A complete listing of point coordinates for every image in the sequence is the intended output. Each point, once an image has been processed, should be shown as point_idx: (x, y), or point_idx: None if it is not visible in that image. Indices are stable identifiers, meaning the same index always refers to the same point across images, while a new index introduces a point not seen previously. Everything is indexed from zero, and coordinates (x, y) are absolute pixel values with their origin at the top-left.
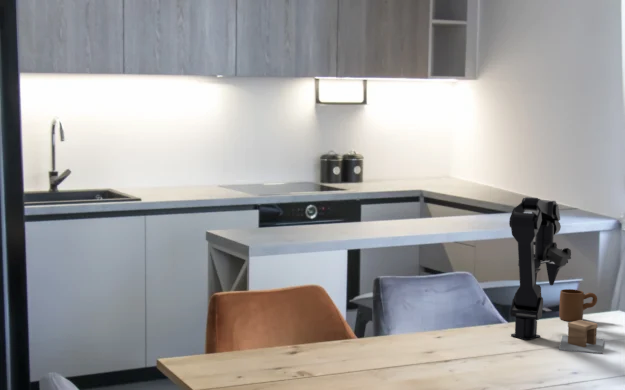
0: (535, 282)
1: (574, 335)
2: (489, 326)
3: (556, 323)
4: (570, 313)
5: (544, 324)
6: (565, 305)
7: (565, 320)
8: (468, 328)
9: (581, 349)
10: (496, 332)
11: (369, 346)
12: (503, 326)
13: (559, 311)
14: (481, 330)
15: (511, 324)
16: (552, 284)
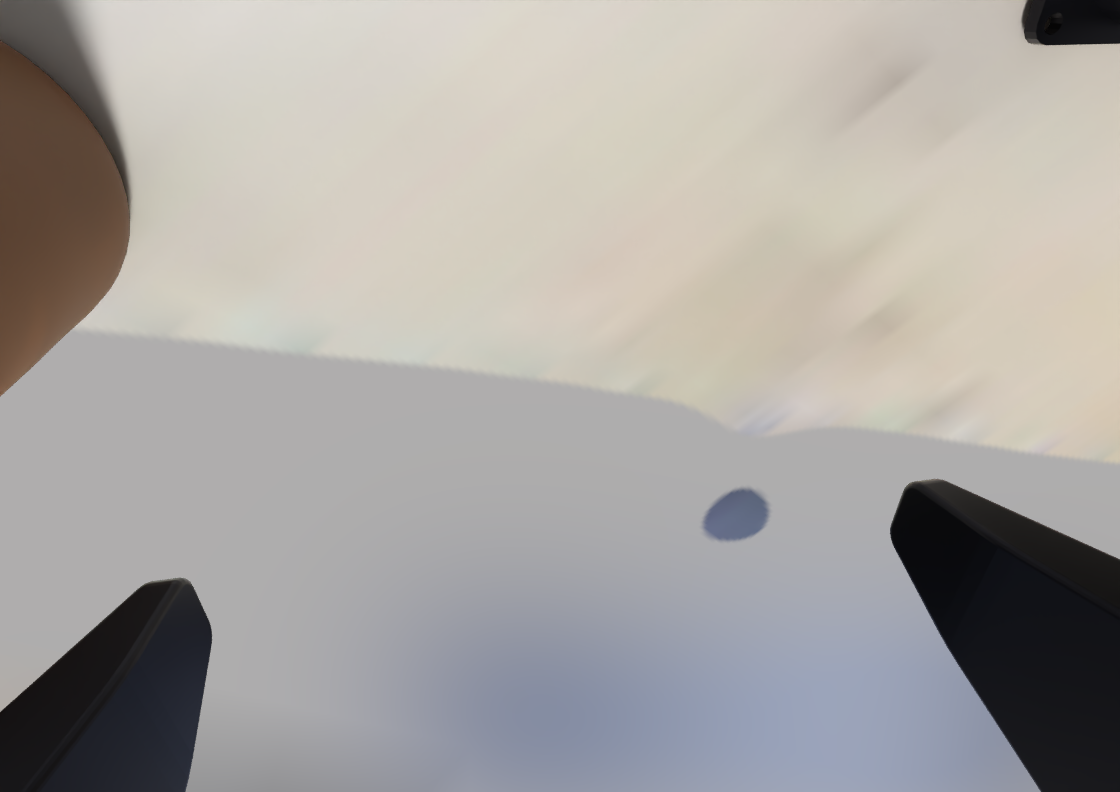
0: (1101, 574)
1: None
2: (941, 401)
3: (328, 136)
4: (2, 95)
5: (501, 188)
6: (6, 214)
7: (111, 155)
8: (1082, 429)
9: None
10: (1108, 232)
11: None
12: (873, 348)
13: (78, 319)
14: (1098, 344)
15: (761, 363)
16: (174, 592)
